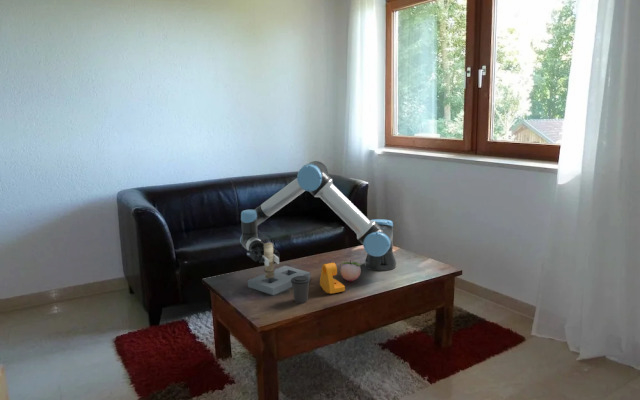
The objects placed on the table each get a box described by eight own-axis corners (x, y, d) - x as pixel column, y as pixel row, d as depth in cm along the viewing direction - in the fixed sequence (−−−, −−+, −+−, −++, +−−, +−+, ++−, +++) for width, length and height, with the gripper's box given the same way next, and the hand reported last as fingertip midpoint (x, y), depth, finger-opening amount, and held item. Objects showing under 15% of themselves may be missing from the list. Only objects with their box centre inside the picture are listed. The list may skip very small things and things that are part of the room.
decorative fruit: (340, 285, 214) (340, 263, 212) (340, 278, 222) (340, 257, 220) (361, 285, 213) (361, 263, 211) (360, 278, 221) (360, 257, 219)
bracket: (345, 292, 206) (345, 265, 203) (330, 295, 203) (329, 268, 200) (334, 284, 215) (334, 258, 213) (319, 286, 212) (319, 260, 210)
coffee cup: (313, 302, 196) (313, 279, 194) (294, 306, 193) (293, 282, 191) (307, 295, 203) (306, 272, 201) (288, 298, 201) (288, 275, 199)
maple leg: (276, 276, 213) (275, 243, 210) (269, 279, 210) (268, 246, 207) (269, 274, 216) (268, 242, 213) (262, 277, 212) (261, 244, 209)
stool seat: (285, 271, 232) (285, 265, 232) (310, 278, 222) (310, 272, 221) (247, 286, 214) (247, 280, 214) (273, 295, 204) (273, 288, 203)
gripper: (273, 252, 231) (292, 267, 210) (239, 257, 224) (254, 273, 203) (273, 237, 230) (291, 250, 209) (238, 242, 223) (253, 256, 202)
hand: (273, 261), depth 206 cm, fingers closed on maple leg, 4 cm apart
